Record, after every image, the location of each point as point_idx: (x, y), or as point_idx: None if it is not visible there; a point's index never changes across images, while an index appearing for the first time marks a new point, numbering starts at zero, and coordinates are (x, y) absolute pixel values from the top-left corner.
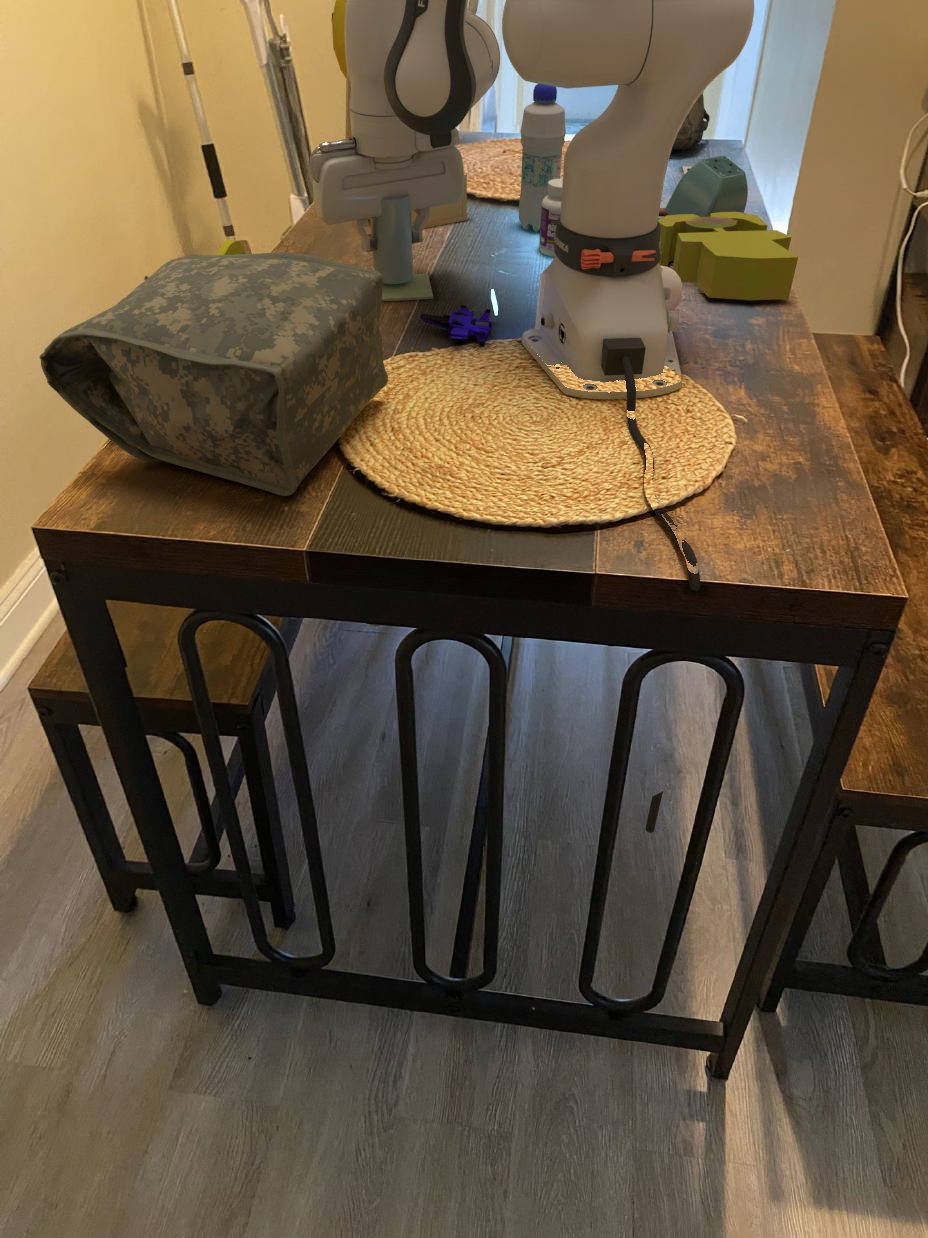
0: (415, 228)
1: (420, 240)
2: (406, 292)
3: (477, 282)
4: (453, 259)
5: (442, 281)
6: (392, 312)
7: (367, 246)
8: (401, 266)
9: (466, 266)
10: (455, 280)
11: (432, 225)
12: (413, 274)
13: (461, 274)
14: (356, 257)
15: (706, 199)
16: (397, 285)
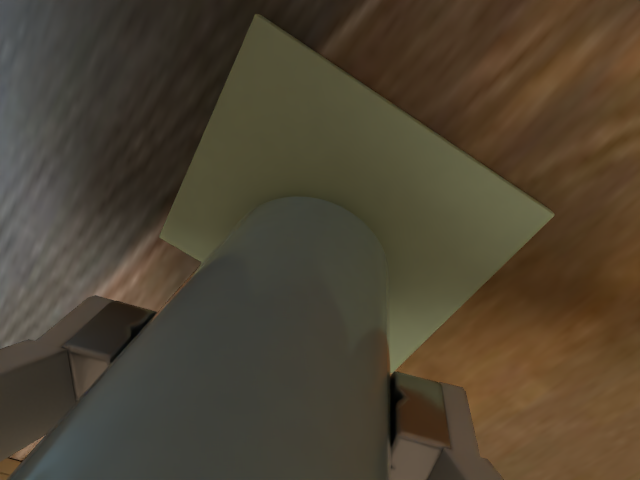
0: (75, 376)
1: (103, 300)
2: (333, 140)
3: (5, 48)
4: (29, 282)
5: (135, 157)
6: (526, 3)
7: (465, 410)
8: (302, 227)
9: (4, 210)
10: (84, 130)
11: (15, 462)
12: None
13: (43, 163)
14: None
15: None
16: None
